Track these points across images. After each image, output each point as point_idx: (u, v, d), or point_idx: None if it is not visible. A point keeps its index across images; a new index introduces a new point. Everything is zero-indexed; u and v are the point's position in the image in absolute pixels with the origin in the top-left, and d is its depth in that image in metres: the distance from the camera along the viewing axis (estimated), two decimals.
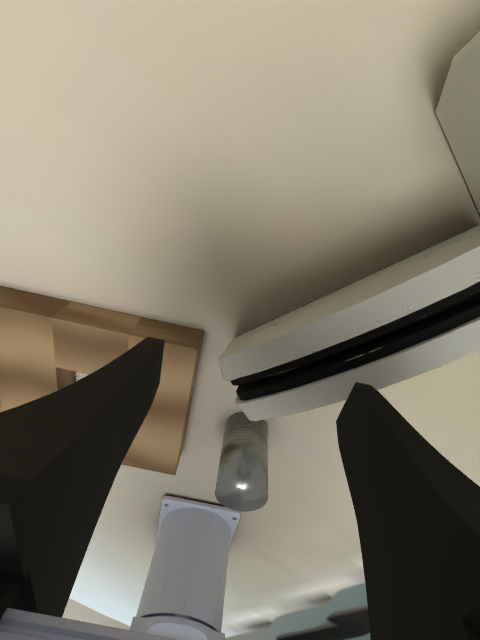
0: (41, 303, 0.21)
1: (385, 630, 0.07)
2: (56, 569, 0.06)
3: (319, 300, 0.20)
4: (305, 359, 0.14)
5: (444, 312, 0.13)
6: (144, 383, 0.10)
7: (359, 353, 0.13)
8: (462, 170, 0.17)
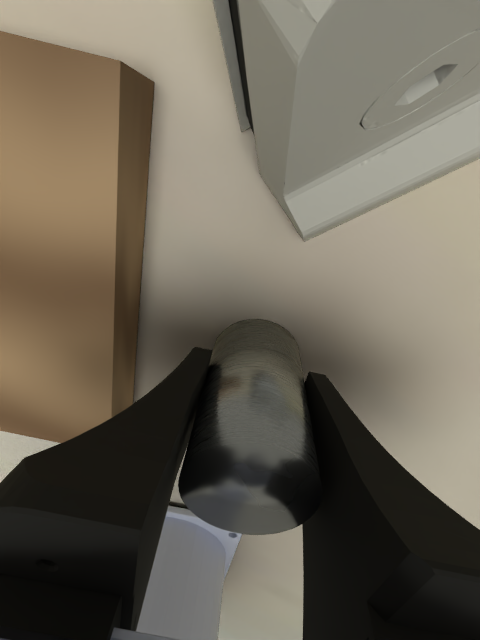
0: None
1: (314, 616, 0.07)
2: (142, 585, 0.06)
3: None
4: None
5: None
6: (198, 394, 0.10)
7: None
8: None
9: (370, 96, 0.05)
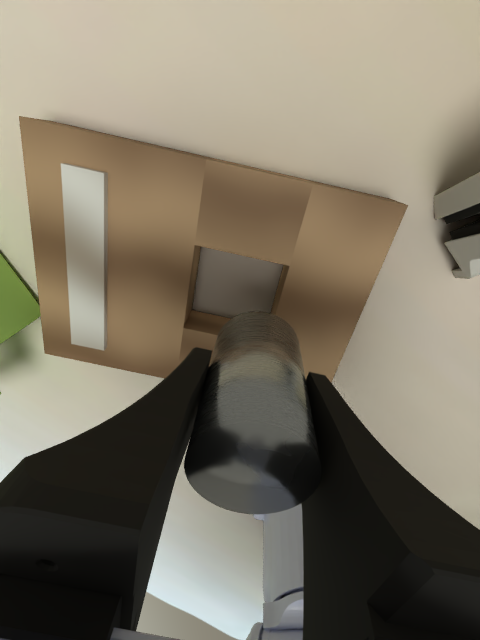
0: (180, 151, 0.16)
1: (314, 616, 0.07)
2: (142, 585, 0.06)
3: None
4: None
5: None
6: (198, 394, 0.10)
7: None
8: None
9: None
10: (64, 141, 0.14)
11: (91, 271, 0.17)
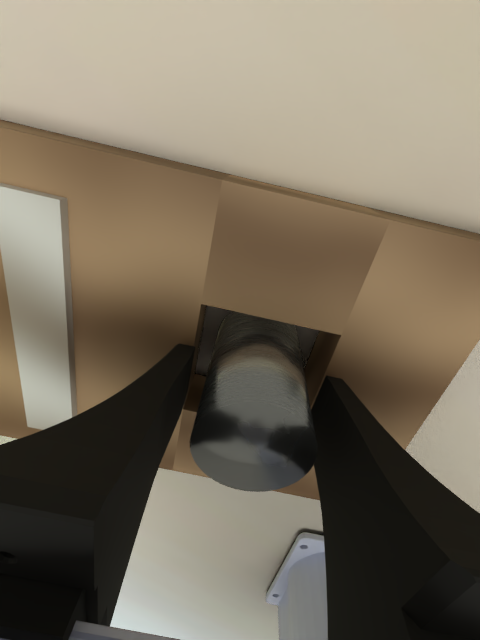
0: (181, 165, 0.10)
1: (340, 621, 0.07)
2: (112, 579, 0.06)
3: None
4: None
5: None
6: (179, 390, 0.10)
7: None
8: None
9: None
10: None
11: (49, 338, 0.12)
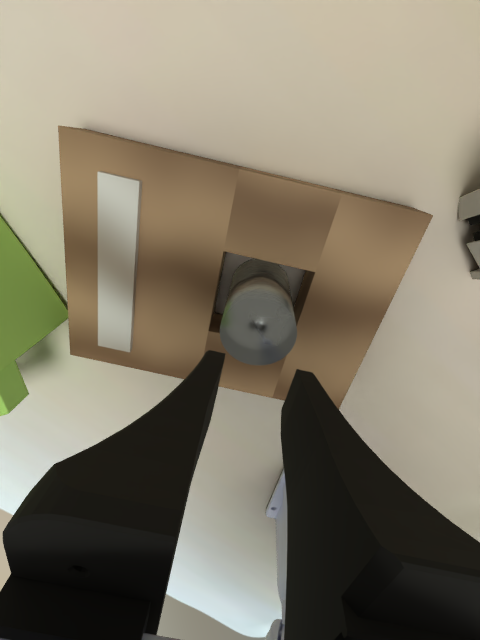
0: (212, 160, 0.16)
1: (294, 612, 0.07)
2: None
3: None
4: None
5: None
6: (213, 398, 0.10)
7: None
8: None
9: None
10: (101, 149, 0.15)
11: (122, 275, 0.17)
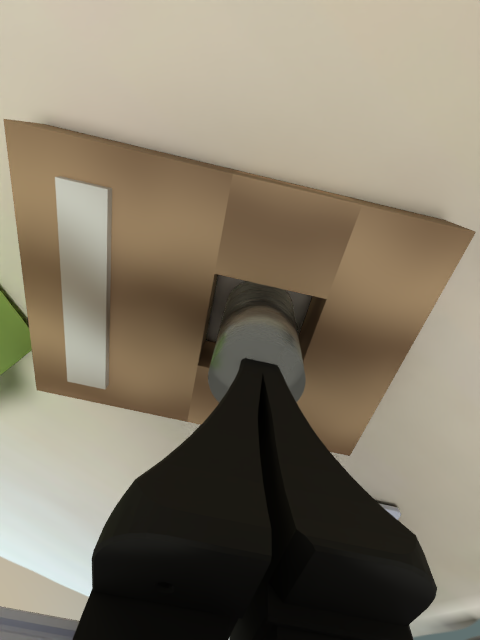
0: (199, 163, 0.13)
1: None
2: None
3: None
4: None
5: None
6: None
7: None
8: None
9: None
10: (59, 149, 0.12)
11: (91, 302, 0.14)
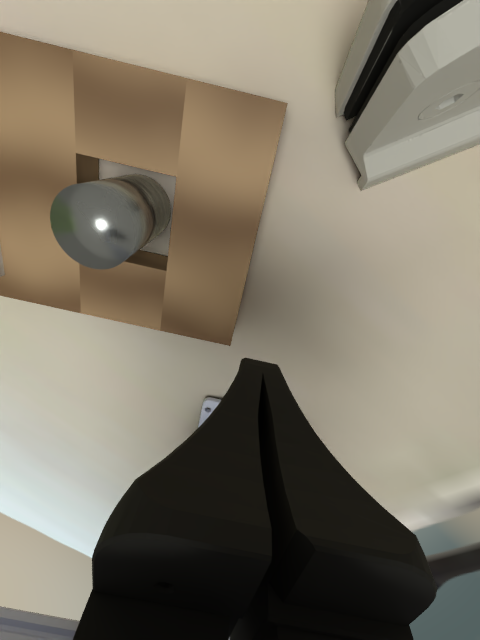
0: None
1: None
2: None
3: None
4: None
5: None
6: None
7: None
8: None
9: (427, 103, 0.11)
10: None
11: None
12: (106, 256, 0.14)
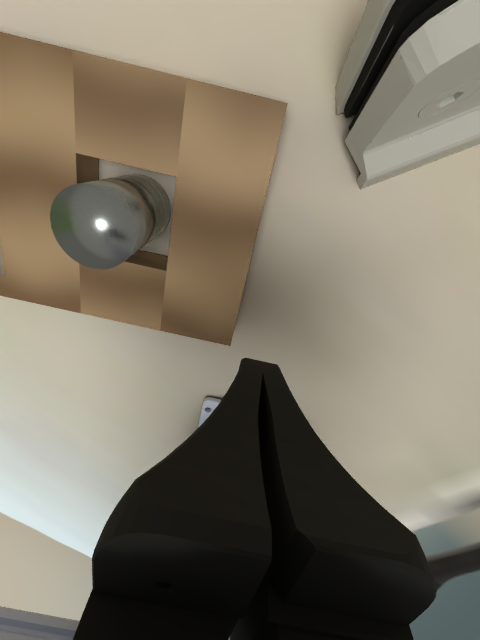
0: None
1: None
2: None
3: None
4: None
5: None
6: None
7: None
8: None
9: (428, 100, 0.11)
10: None
11: None
12: (106, 256, 0.14)
